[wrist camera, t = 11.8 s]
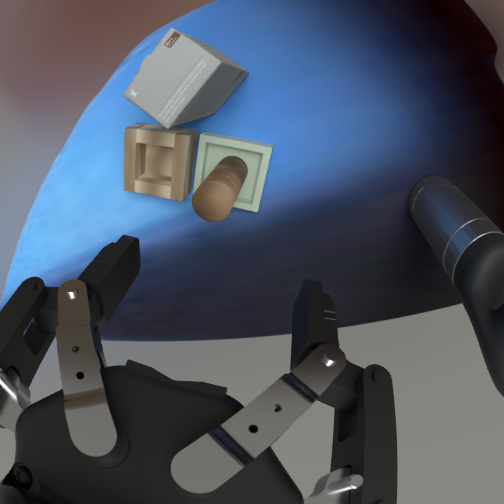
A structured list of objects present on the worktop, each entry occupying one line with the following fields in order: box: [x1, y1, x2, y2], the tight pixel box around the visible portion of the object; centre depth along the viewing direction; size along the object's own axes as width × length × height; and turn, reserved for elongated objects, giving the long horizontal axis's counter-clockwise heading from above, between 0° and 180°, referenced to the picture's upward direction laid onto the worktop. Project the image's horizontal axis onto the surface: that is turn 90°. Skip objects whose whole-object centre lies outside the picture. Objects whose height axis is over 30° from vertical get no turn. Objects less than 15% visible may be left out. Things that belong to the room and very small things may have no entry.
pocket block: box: [124, 123, 198, 202], centre depth 40 cm, size 10×10×4 cm
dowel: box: [192, 156, 248, 222], centre depth 36 cm, size 4×4×12 cm
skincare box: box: [124, 28, 249, 129], centre depth 27 cm, size 8×7×16 cm
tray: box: [193, 131, 273, 212], centre depth 40 cm, size 10×10×2 cm
